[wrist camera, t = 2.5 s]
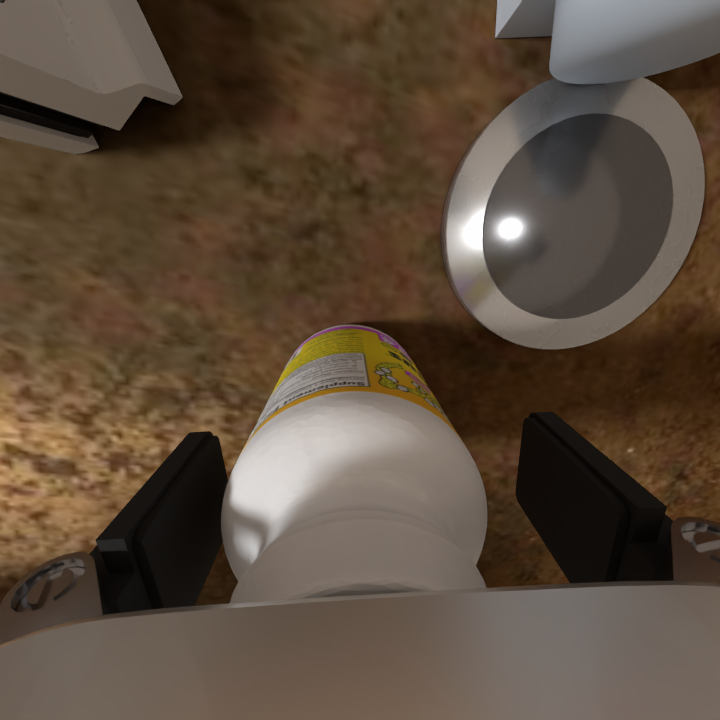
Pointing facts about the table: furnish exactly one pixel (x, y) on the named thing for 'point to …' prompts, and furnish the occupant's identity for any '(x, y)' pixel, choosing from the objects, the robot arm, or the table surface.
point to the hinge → (76, 70)
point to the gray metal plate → (573, 211)
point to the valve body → (615, 35)
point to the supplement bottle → (352, 481)
